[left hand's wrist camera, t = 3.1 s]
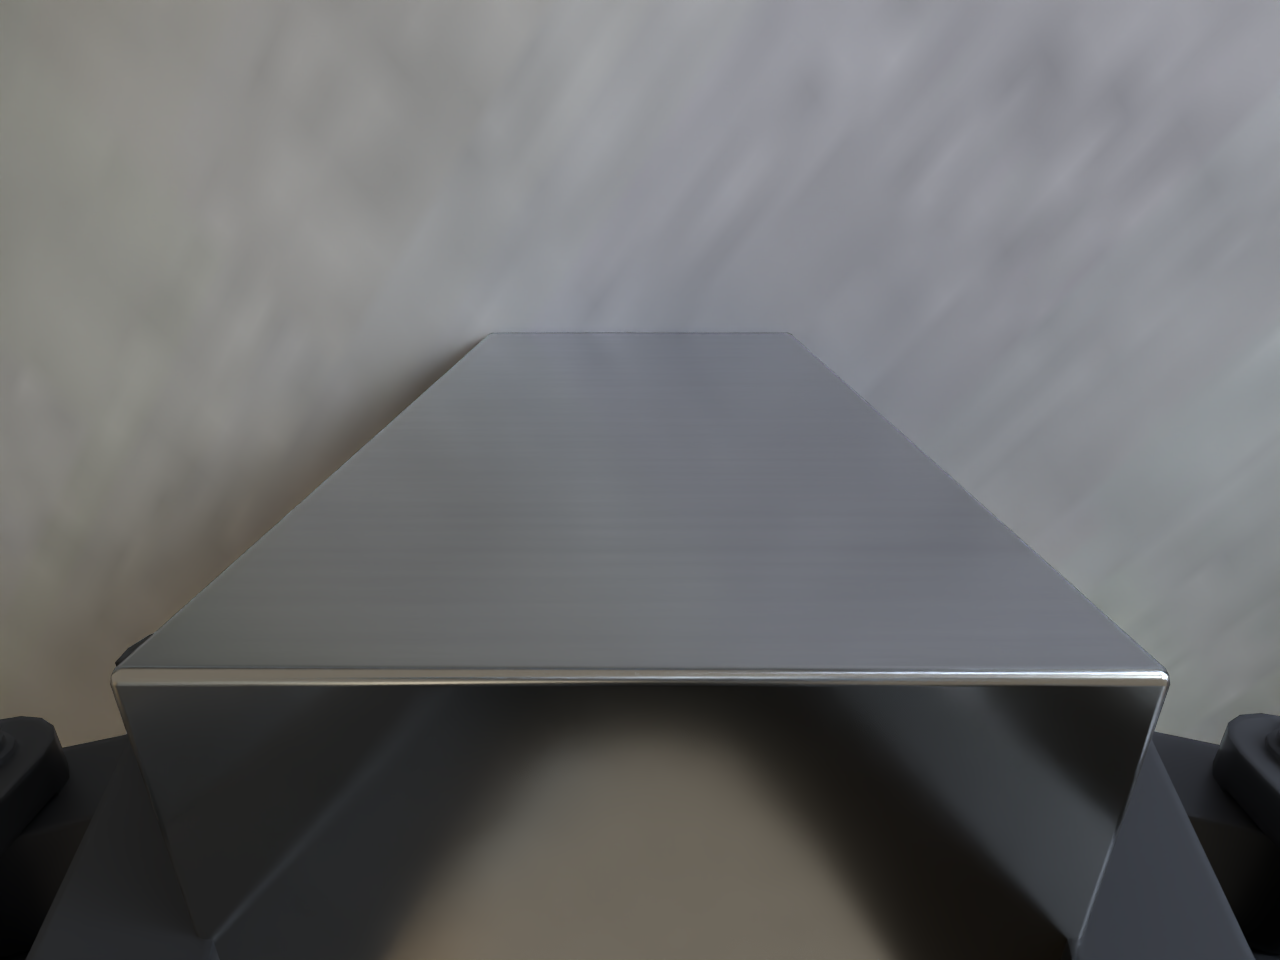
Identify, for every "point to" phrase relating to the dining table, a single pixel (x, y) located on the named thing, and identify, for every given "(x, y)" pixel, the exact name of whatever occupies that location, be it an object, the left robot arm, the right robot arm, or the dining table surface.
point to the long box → (640, 685)
